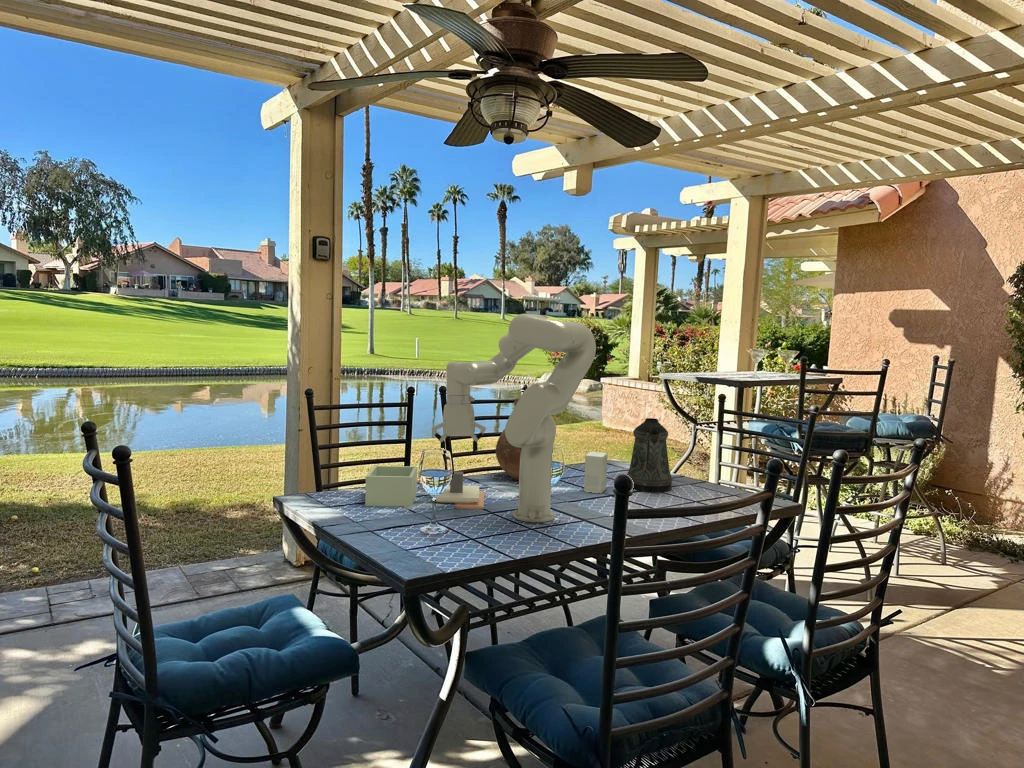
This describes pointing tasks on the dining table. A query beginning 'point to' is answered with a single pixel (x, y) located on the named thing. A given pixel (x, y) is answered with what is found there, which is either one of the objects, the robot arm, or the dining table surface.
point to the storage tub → (391, 486)
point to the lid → (459, 491)
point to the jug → (508, 455)
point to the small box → (595, 472)
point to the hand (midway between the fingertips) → (459, 453)
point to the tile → (472, 505)
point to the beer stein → (650, 458)
